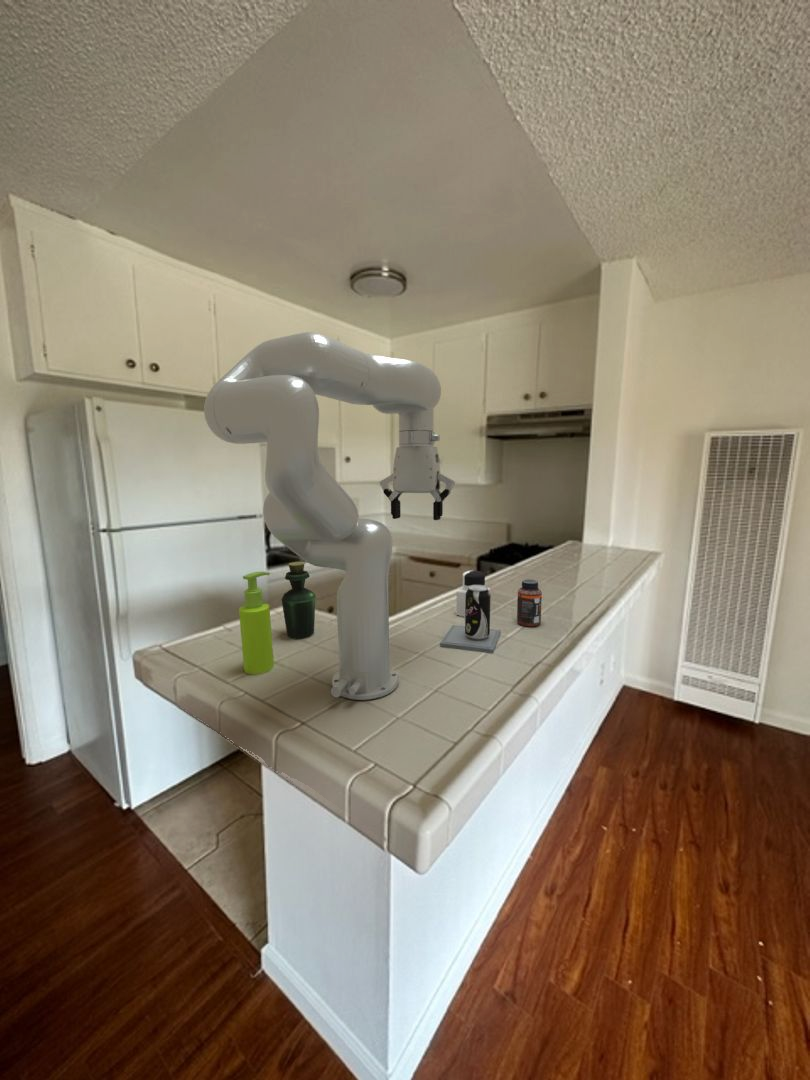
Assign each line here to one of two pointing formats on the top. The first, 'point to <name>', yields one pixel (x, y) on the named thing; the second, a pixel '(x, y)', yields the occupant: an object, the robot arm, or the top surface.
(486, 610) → the beverage can
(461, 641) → the plate
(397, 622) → the top surface
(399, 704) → the top surface
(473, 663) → the top surface
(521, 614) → the supplement bottle
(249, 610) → the soap dispenser
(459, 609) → the medicine bottle
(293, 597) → the potion bottle
